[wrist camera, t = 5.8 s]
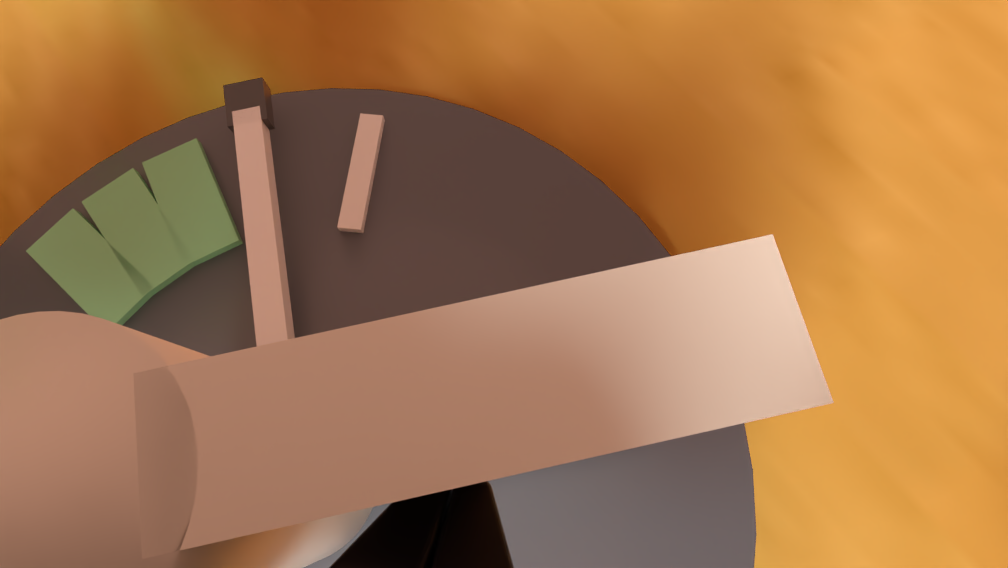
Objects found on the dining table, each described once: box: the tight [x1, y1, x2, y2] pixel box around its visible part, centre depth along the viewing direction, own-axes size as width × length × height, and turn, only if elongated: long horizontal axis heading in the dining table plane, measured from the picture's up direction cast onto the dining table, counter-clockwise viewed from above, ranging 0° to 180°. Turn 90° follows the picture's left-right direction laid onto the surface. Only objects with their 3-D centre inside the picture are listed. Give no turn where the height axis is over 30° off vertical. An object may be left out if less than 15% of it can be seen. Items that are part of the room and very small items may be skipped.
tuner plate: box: [0, 88, 756, 568], centre depth 14 cm, size 20×20×1 cm
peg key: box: [0, 78, 834, 568], centre depth 11 cm, size 10×12×8 cm
